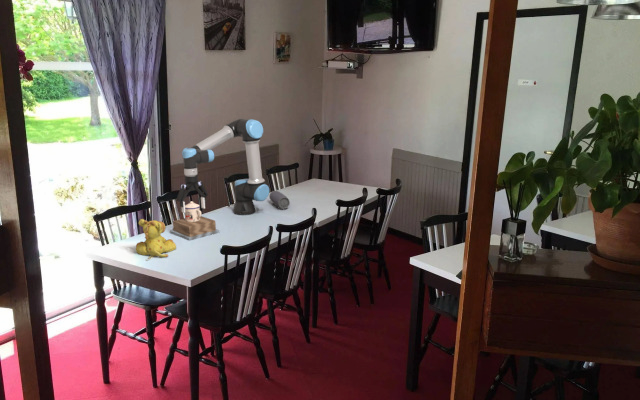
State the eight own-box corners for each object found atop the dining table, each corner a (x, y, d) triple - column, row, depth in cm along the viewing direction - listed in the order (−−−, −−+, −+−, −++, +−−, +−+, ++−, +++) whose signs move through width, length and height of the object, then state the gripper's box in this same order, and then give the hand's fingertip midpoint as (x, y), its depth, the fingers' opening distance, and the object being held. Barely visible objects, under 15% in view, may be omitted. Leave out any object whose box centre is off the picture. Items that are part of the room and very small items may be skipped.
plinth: (199, 225, 328) (199, 214, 326) (219, 232, 314) (218, 220, 312) (170, 233, 313) (169, 221, 312) (189, 240, 299) (188, 228, 297)
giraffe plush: (178, 245, 291) (176, 212, 287) (169, 260, 268) (166, 224, 264) (141, 246, 290) (138, 213, 285) (129, 261, 267) (125, 225, 262)
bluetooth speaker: (290, 209, 365) (290, 195, 363) (278, 211, 362) (277, 197, 360) (281, 202, 386) (280, 189, 384) (268, 203, 383) (268, 190, 380)
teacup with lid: (181, 220, 312) (180, 202, 309) (193, 217, 319) (192, 199, 316) (195, 224, 305) (194, 204, 302) (207, 220, 312) (206, 201, 310)
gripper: (175, 179, 294) (178, 215, 299) (212, 172, 311) (214, 207, 316) (168, 177, 299) (171, 213, 304) (205, 171, 316) (207, 205, 322)
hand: (193, 210), depth 310 cm, fingers open, 13 cm apart
